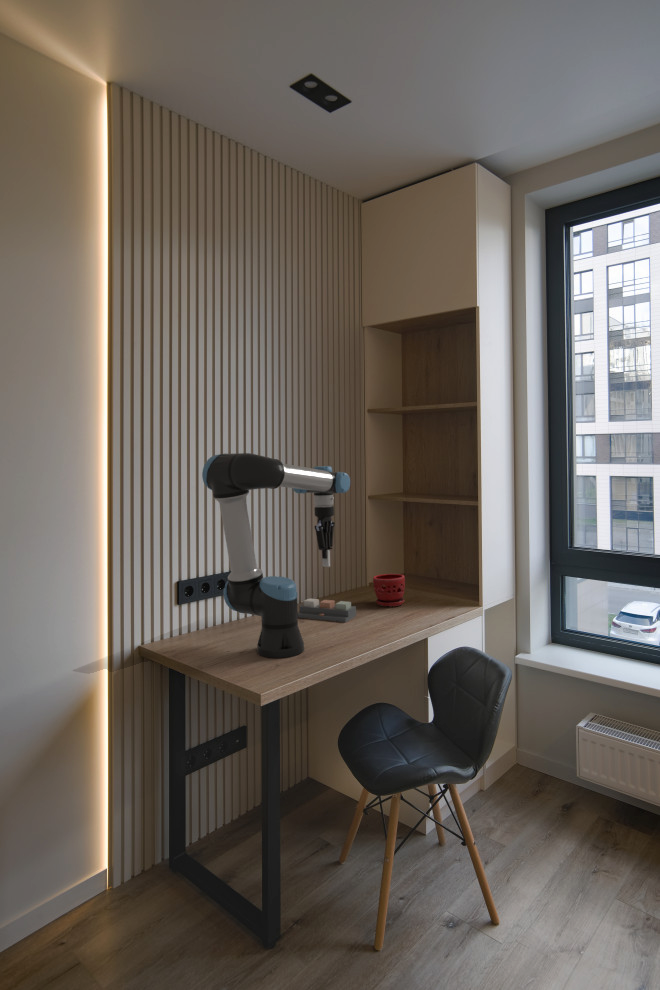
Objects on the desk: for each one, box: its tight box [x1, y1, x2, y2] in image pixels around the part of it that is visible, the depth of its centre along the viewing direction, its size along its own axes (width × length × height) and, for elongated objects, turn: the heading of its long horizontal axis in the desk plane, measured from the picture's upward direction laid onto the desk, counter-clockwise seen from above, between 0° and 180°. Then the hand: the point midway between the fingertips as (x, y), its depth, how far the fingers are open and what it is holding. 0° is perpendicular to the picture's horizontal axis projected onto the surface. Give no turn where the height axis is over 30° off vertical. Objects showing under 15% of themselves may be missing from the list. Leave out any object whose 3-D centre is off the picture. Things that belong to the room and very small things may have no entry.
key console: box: [298, 602, 357, 623], centre depth 238 cm, size 10×21×4 cm, turn 63°
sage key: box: [335, 600, 352, 610], centre depth 236 cm, size 4×4×3 cm
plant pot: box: [372, 573, 406, 608], centre depth 254 cm, size 13×13×12 cm
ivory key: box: [303, 598, 320, 607], centre depth 242 cm, size 4×4×3 cm
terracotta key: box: [319, 599, 336, 609], centre depth 239 cm, size 4×4×3 cm
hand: (326, 566), depth 238 cm, fingers closed
